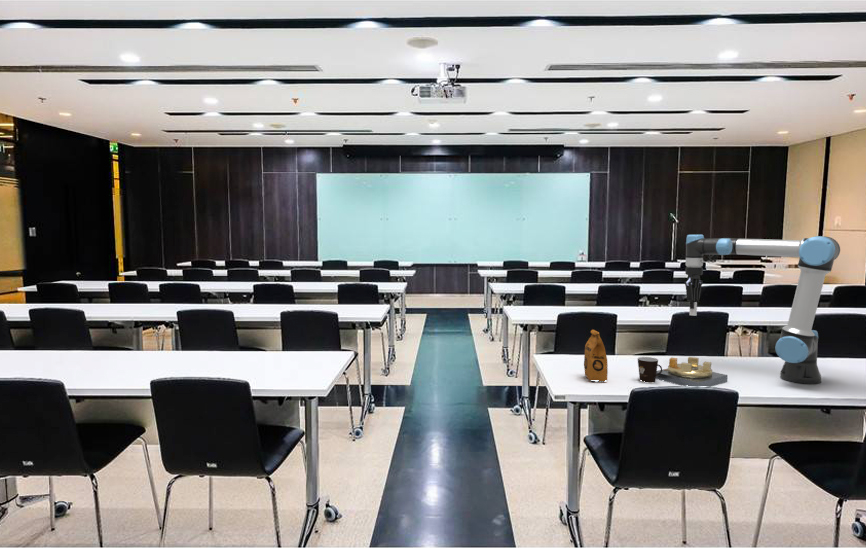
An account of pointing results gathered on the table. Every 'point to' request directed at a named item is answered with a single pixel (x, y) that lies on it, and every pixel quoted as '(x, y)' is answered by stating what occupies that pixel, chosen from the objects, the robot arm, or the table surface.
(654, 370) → the coffee mug
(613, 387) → the table surface
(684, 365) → the lathe chuck
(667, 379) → the housing
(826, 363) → the table surface
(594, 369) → the coffee package
